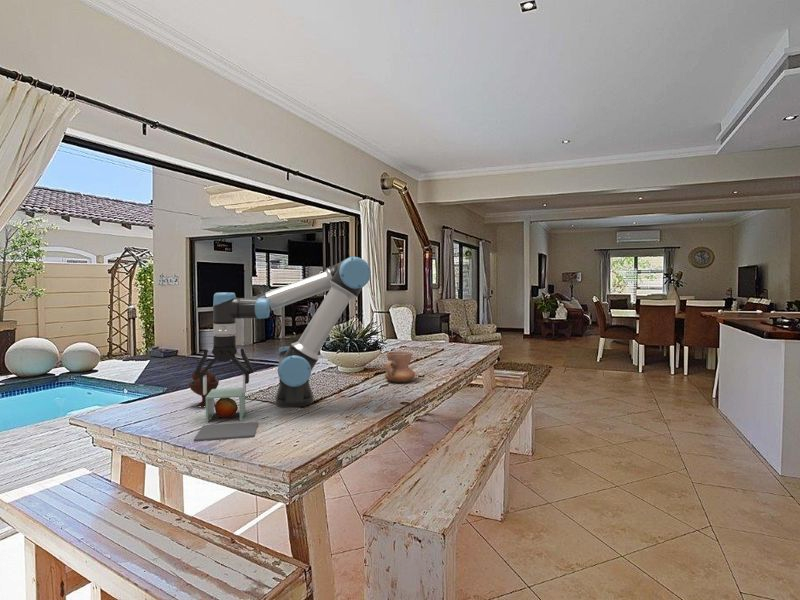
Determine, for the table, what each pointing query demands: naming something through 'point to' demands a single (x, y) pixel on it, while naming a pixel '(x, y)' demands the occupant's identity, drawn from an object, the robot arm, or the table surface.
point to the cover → (224, 394)
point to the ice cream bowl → (198, 388)
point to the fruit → (225, 407)
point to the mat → (226, 431)
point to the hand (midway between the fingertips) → (224, 393)
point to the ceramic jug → (399, 367)
